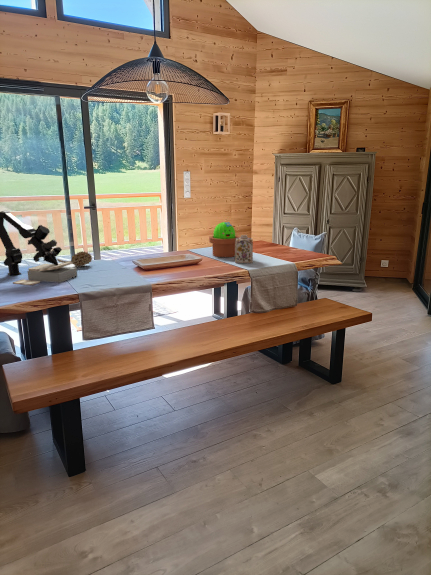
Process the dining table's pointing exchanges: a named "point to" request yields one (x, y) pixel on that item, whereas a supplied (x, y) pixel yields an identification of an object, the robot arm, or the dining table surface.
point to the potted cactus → (223, 240)
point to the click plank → (55, 266)
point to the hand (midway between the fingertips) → (57, 264)
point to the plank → (26, 282)
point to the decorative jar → (243, 249)
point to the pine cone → (79, 259)
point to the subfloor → (51, 273)
